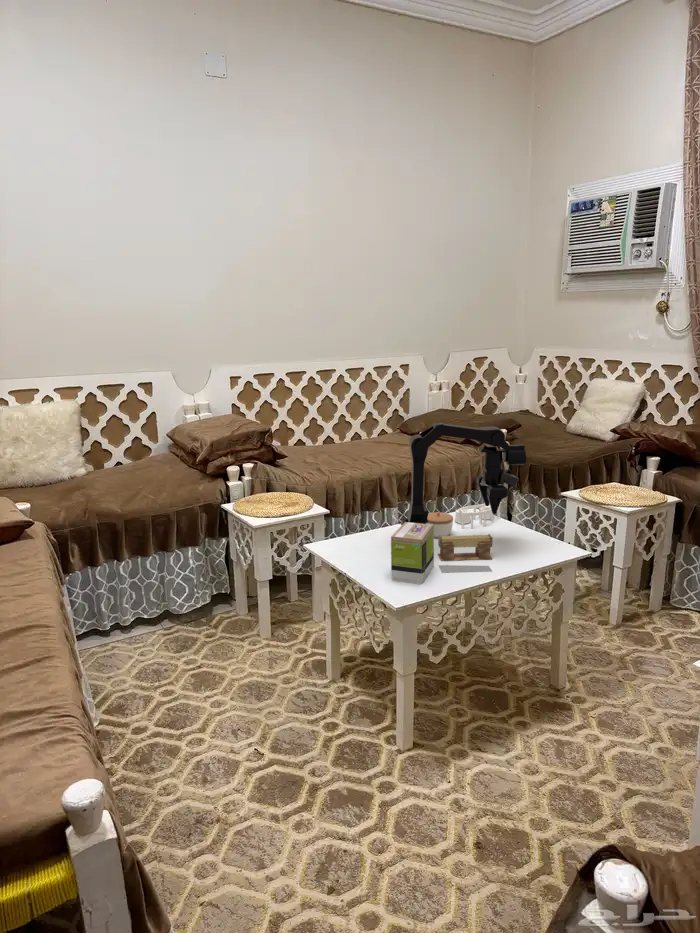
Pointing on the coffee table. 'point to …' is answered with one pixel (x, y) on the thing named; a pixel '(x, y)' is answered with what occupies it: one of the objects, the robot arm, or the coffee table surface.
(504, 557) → the coffee table surface
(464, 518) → the skeletal toy car
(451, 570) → the mat
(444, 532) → the lidded jar
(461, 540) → the rail
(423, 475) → the robot arm
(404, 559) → the tea box
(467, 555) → the stand
